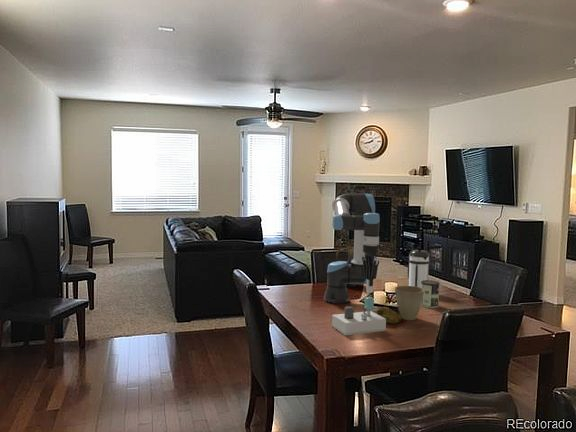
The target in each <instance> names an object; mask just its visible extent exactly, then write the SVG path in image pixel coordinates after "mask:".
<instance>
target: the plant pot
mask: <svg viewBox="0 0 576 432" xmlns="http://www.w3.org/2000/svg"><path fill="white" fill-rule="evenodd" d="M394 289H395V298H396V299H395V300H396V303H397V309H398V313H399V314H401V315H402V320H405V321H415V320H417V317H418V314H419V312H420V309H421V307H422V306H421V303H422V299H423V295H424V289H422V288H420V287H415V286H408V285H398V286H396V287H394Z"/></svg>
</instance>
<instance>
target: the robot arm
mask: <svg viewBox="0 0 576 432" xmlns="http://www.w3.org/2000/svg"><path fill="white" fill-rule="evenodd" d="M332 210H333V212H334V213H335V214H334V215H333V217H332V229H333V230H337V231H354V235H353V236H354V237H353V238H354V239H353V243H354V244H353V245H354V258H353V260H352V261H351V264H347V262H346V261H343V260H339V261H338V260H337V261H332V262H330V263H329V264H328V265H327V270H326V273H327V280H326V281H327V283H326V285H327V286H326V289H325V292H324V296H323V301H324V300H325V301H324V302H326V301H328V302H327V303H329V302H332V303H331V304H346V303H345V302H347V303H349V302H350V296H349V292H348V288H347V284H357V285H366V287H365V289H366V293H367V294H369V293H373V292H374V291H373V290H374V280H375V279H377V275H378V268H379V264H380V260H377V258H378V256H377V254H378V253H379V249H380V246H379V244H380V236H379V235H380V221H381V220H380V219H381V218H380V214H379V213H378V212H377V213H376V203H375V197H374V195H373V194H372V193H343V194H340V195H338V196H336V198H335V199H334V200H333V202H332ZM351 214H352V215H351ZM348 301H349V302H348Z"/></svg>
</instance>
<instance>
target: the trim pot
mask: <svg viewBox="0 0 576 432" xmlns="http://www.w3.org/2000/svg"><path fill="white" fill-rule="evenodd" d="M362 312H363V313H362V314H361V320H364V321H365V320H367V313H365V312H366V311H362Z"/></svg>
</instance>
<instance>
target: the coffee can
mask: <svg viewBox="0 0 576 432" xmlns="http://www.w3.org/2000/svg"><path fill="white" fill-rule="evenodd" d="M421 288H422V289H424V295H423V299H422V303H421V307H423V308H428V309H436V308H439V301H440V299H439V298H440V282H439V281H436V280H430V279H428V280H424V281H421Z"/></svg>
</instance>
